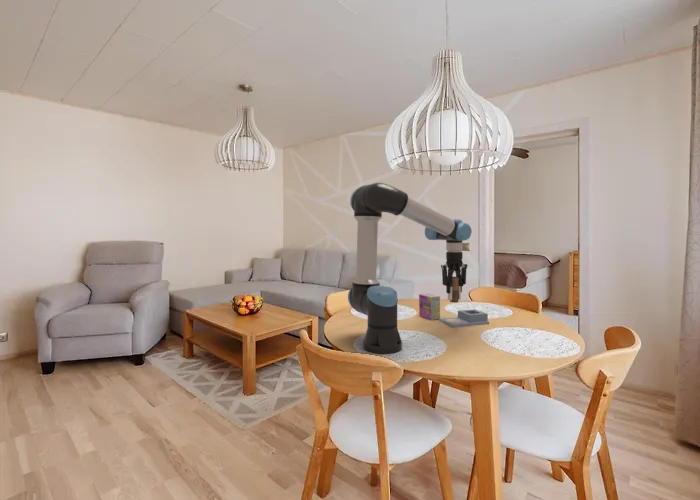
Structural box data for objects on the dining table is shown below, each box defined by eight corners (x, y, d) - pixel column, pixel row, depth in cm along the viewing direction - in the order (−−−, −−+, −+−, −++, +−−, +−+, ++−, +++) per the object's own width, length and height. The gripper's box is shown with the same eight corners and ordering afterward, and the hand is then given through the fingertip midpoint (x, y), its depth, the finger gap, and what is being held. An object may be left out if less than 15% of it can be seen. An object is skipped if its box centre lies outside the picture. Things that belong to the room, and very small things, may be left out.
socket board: (488, 323, 168) (489, 314, 168) (452, 327, 163) (452, 317, 162) (473, 317, 180) (473, 308, 179) (439, 321, 174) (439, 311, 174)
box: (418, 315, 185) (418, 293, 184) (427, 314, 187) (427, 292, 187) (431, 320, 176) (431, 297, 175) (440, 319, 178) (440, 296, 177)
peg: (460, 302, 168) (460, 277, 167) (452, 302, 166) (452, 277, 166) (455, 300, 171) (455, 276, 171) (448, 301, 170) (448, 276, 170)
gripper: (465, 250, 173) (464, 296, 175) (434, 251, 169) (434, 299, 170) (474, 251, 166) (474, 299, 168) (442, 252, 161) (442, 302, 163)
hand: (454, 299), depth 169 cm, fingers closed on peg, 4 cm apart
